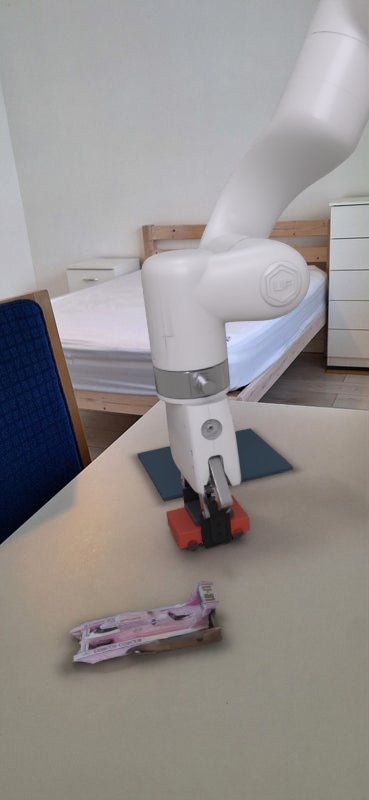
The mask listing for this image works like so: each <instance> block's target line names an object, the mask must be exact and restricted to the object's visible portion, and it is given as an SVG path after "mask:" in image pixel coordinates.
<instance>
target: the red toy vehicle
mask: <svg viewBox="0 0 369 800" xmlns="http://www.w3.org/2000/svg"><path fill="white" fill-rule="evenodd" d="M231 496H232V500H233V506H231V507H230V522H231V533H232V538H235V539H239V538H241V537H242V536H243V535H244V533H245V532H248V531H250V530H251V527H250V516H249V514H248V513H247V512H246V510H245V509H244V508H243V506H241V504H240V503H239V501H238V500H237V498H236V497H235V496H234V495H233V494H231ZM207 500H208V504H209V503H210V501H212V500H215V495H211V497H207ZM201 514H202V509H201V504H200V499H199V500H195V501H191V502H187V503H185V507H184V506H183V507H179V508H174V509H171V510H168V511H166V520H167V525H168V527H169V530H170V532H171V534H172V536H173V537H174V540H175V542H176V543H177V545H178V547H179V549H184V548H186V549H187V550H188V551H195V550H197V549H198V547H199V546H200V545H199V544H202V536H201V527H200V518H199V515H201Z"/></svg>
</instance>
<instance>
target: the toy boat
mask: <svg viewBox="0 0 369 800" xmlns="http://www.w3.org/2000/svg"><path fill="white" fill-rule="evenodd" d="M219 604H220V600H219V596H218V594H217V592H216V588H215V586H214V582H213V581H211V580H210V581H208V580H199V581H198V582H197V583H196V585H195V586H194V588H193V590H192V591H191V596H190V598H189V600H186V601H184V602H181V603H177V604H175V605H172V606H162V607H159V608H158V607H157V608H152V609H148V610H147V609H146V610H139V611H137V610H135V611H134V610H133V611H128V612H122V613H118V614H116V615H112V616H107V617H103V618H100V619H99V618H98V619H94V620H90V621H86V622H83V623H81V624H79V625H77V626H75V627H74V628H71V629H70V631H69V632H68V633H69V634H70V635H71V636H73V637H74V638H76V639H77V640H78V641H79V642H78V644H79V645H80V647H79V649H78V650H77V652H76V654H74V655H73V656H72V657H73V659H72V661H71V663H78V662H79V663H80V662H83V663H87V664H92V665H94V664H96V663H98V662H102V661H105V660H110V659H114V658H119V657H123V656H127V655H131V654H138V655H140V656H141V655H142V656H143V655H144V656H145V655H146V656H147V655H155V654H157V653H163V652H170V651H173V650H176V649H177V650H179V649H184V648H191V647H196V646H202V645H207V644H210V643H214V642H219V641H221V640H222V635H221V634H222V633H221V632H222V626H217V627H216V622H215V620H214V619H215V616H216V614H217V613H216V612H217V610H216V606H218V605H219Z"/></svg>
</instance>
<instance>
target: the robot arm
mask: <svg viewBox="0 0 369 800" xmlns="http://www.w3.org/2000/svg"><path fill="white" fill-rule="evenodd" d="M290 70H291V71H290V73H289V76H288V78H287V80H286V83H285V84H284V87H283V89H282V92H281V94H280V97H279V99H278V102H277V104H276V106H275V109H274V111H273V113H272V115H271V117H270V119H269V120H268V122H267V124H266V126H265V127H264V128H263V130H261V132H260V133H259V134H258V135H257V137H256V138H255V139H254V141H253V143H252V144H251V145H250V147H249V149H248V150H247V152H246V153H245V155H244V156H243V158H242V159H241V161H240V162H239V163H238V165H237V166H236V167H235V169H234V170H233V172H232V173H231V174H230V176H229V178H228V179H227V181H226V182H225V184H224V186H223V188H222V189H221V191H220V193H219V195H218V197H217V199H216V202H215V203H214V205H213V208H212V210H211V212H210V216H209V218H208V221H207V224H206V225H205V228H204V231H203V232H202V236H201V238H200V241H199V244H198V247H197V248H183V249H182V248H181V249H174V250H173V249H172V250H167V251H163V252H158V253H156V254H153V255H151V256H149V257H147V258H146V259H145V260H144V261H143V263H142V265H141V270H140V279H141V288H142V295H143V302H144V303H143V304H144V309H145V311H144V312H145V316H146V325H147V332H148V340H149V347H150V349H149V350H150V355H151V363H152V371H153V379H154V385H155V394H156V397H157V398H158V399H159V400H160V401H161V402H164V403H165V415H166V426H167V434H168V442H169V446H170V448H171V453H172V457H173V460H174V462H175V464H176V465H177V467H178V468H179V470H180V471H181V482H182V486H183V488H186V487H187V489H183V490H182V491H183V496H182V499H183V507H185V503H187V502H191V501H195V500H199V499H200V504H201V509H202V514H201V515H199V518H200V527H201V536H202V543H201V544H202V547H204V549H211V548H215V547H217V546H221V545H222V546H223V545H225V544H228V543H231V542H232V540H233V536H232V533H231V522H230V507H231V506H233V500H232V496H231V495H232V493H231V491H230V486H232V487H238V486H240V485H241V483H242V482H241V472H240V464H239V456H238V448H237V441H236V434H235V432H236V429H235V428H236V427H235V423H234V417H233V413H232V409H231V408H232V407H231V404H230V401H229V397H228V395H227V394H228V393H229V392H230V390H231V379H230V367H229V365H230V364H229V357H228V356H229V354H228V341H227V328H226V324H227V323H236V322H237V323H238V322H239V323H240V322H264V321H271V320H276V319H279V318H283V317H285V316H287V315H289V314H290V313H292V312H293V311H295V310H296V309H297V308H298V307H299V306H300V305H301V304H302V302H303V301H304V300H305V298H306V296H307V294H308V292H309V289H310V283H311V274H310V269H309V265H308V264H307V262H306V260H305V258H304V257H303V255H302V254H301V253H300V252H299V251H298V250H297V249H295V248H294V247H292V246H291V245H288V244H287V243H285V242H282V241H280V240H275V239H270V237H271V234H272V232H273V230H274V229H275V226H276V224H277V222H278V221H279V219H280V217H281V216H282V215H283V213H284V212H285V211H286V209H287V208H288V207H289V206H290V204H292V202H293V201H294V200H295V199H296V198H297V197H298V196H300V194H301V193H302V192H304V191H305V190H306V189H308V188H310V186H312V185H313V184H315V183H316V182H318V181H320V180H322V179H323V178H324V177H326V176H327V175H329V174H330V173H332V172H334V170H335V169H337V168H338V167H339V166H340V165H342V164H343V163H344V162H345V161H346V160H348V159H349V158H350V157H351V156H352V155H353V153H354V152H355V151H356V149H357V147H358V145H359V143H360V140H361V138H362V136H363V133H364V131H365V128H366V126H367V124H368V121H369V0H319V1H318V3H317V5H316V8H315V11H314V12H313V15H312V17H311V20H310V23H309V25H308V28H307V29H306V33H305V35H304V37H303V39H302V43H301V45H300V48H299V50H298V53H297V55H296V57H295V60H294V63H293V66H292V68H291V69H290ZM226 479H227V480H228V481H229V483H230V484H231V485H230V486H229V485H228V483H227V480H226ZM209 481H211V482H212V485H210V484H209V483H207V482H209ZM212 494H214V496H215V500H212V501H210V503H209V504H208V500H207V497H211V496H212Z"/></svg>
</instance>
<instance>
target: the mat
mask: <svg viewBox="0 0 369 800" xmlns="http://www.w3.org/2000/svg"><path fill="white" fill-rule="evenodd" d="M235 434H236V441H237V448H238V456H239V464H240V472H241V483H243V482H247V481H252V480H256V479H259V478H264V477H268V476H271V475H276V474H280V473H284V472H288V471H291V470H292V471H293V470H294V468H293V467H294V466H293V465H292V464H291V463H290V462H289V461H288V460H286V459H285V458H284V457H283V455H281V454H280V453H278V451H277V450H276V449H274V448H273V447H272V446H271V445H270V444H268V443H267V441H265V440H264V439H263V438H262V437H260V435H258V434H257V433H256V432H255V431H254V430H253V429H252V428H251V427H250V428H245V429H242V430H241V429H240V430H235ZM137 458H138V460H139V462H141V464H142V466H143V468H144V469H145V471H146V473H147V475H148V476H149V478H150V480H151V482H152V483H153V485H154V486H155V488H156V490H157V492H158V493H159V495H160V497H161V498H162V500H163V502H166V501H170V500H174V499H178V498H183V491H182V490H183V489H187V487H186V488H183V486H182V482H181V471H180V470H179V468H178V467H177V465H176V464H175V462H174V460H173V457H172V453H171V448H170V445H168V446H165V447H160V448H155V449H151V450H147V451H142V452H137ZM226 480H227V479H226ZM207 483H209V484H210V485H212V482H211V481H209V482H207ZM227 483H228V486H232V485H231V484H230V483H229V481H228V480H227Z"/></svg>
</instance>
